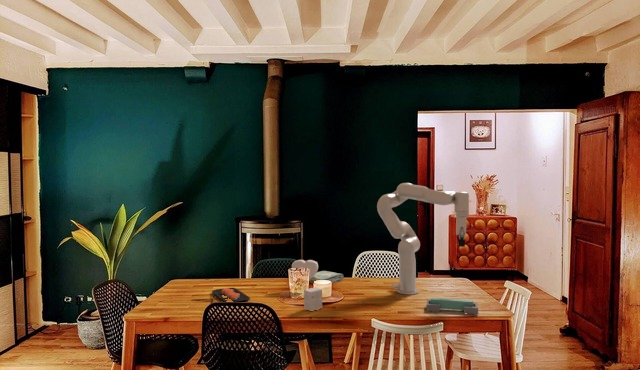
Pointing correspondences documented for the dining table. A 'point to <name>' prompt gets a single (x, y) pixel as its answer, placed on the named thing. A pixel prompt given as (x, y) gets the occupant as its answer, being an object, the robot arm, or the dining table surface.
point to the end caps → (466, 308)
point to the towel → (327, 276)
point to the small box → (313, 299)
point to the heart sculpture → (307, 266)
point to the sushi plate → (229, 295)
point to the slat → (451, 303)
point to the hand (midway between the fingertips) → (461, 245)
